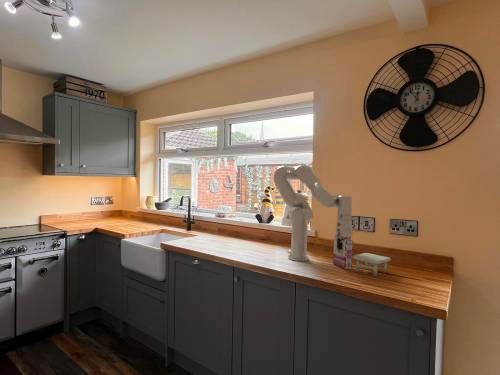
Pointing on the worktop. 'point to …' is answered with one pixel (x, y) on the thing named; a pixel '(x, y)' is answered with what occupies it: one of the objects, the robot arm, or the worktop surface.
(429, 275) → the worktop surface
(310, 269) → the worktop surface
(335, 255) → the candy bar box
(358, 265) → the step stool
